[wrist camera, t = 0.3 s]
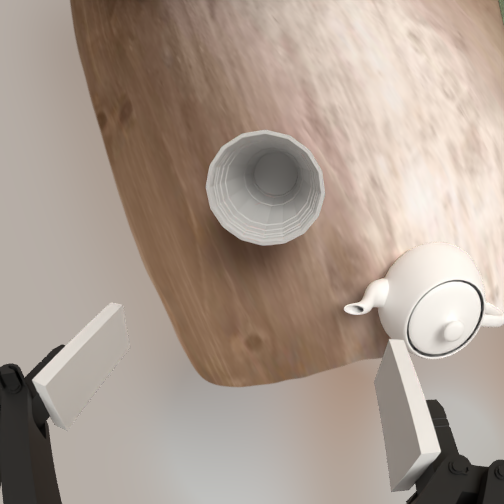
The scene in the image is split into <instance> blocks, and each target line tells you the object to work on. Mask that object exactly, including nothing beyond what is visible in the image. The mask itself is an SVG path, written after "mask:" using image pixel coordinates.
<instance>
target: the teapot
mask: <svg viewBox="0 0 504 504" xmlns="http://www.w3.org/2000/svg"><path fill="white" fill-rule="evenodd" d="M437 285H439V286H437ZM436 286H437V287H436ZM434 287H435V288H434ZM432 288H434V289H432ZM431 289H432V290H431ZM430 290H431V291H430ZM428 291H430V292H428ZM427 292H428V293H427ZM372 307H378V313H379V318H380V322H381V324H382V326H383V328H384V330H385V332H386V333H387V334H388V335H389V337H390V338H391V339H397V340H404V342H405V345H406V347H407V350H408V352H410V353H412V354H415V355H417V356H419V357H421V358H425V359H440V358H445V357H448V356H450V355H453V354H455V353H456V352H458V351H460V350H461V349H463V348H464V347H465V346H466V345H467V344H468V343H469V342H470V341H471V340H472V339H473V338H474V336H475V335H476V334H477V332H478V330H479V329H480V327H481V326H482V327H500V326H502V325H503V324H504V312H503V311H501V310H500V309H499V308H497V307H496V306H494V305H492V304H490V303H488V302H486V299H485V290H484V285H483V281H482V277H481V274H480V272H479V269H478V268H477V266H476V264H475V262H474V260H473V259H472V258H471V257H470V256H469V255H468V254H467V253H466V252H465V251H464V250H462V249H461V248H459V247H458V246H455V245H452V244H449V243H445V242H430V243H425V244H422V245H419V246H416V247H414V248H412V249H410V250H409V251H407V252H405V253H404V254H403V255H402V256H401V257H399V258H398V259H397V260H396V261H395V263H394V264H393V265H392V266H391V267H390V269H389V271H388V272H387V274H386V275H385V277H384V279H379V280H375V281H373V282H372V283H370V284H369V285H368V287H367V288H366V290H365V293H364V295H363V299H362V300H361V301H360V302H357V303H353V304H348V305H346V306H345V307H344V311H345V312H347V313H349V314H353V315H362V314H365V313H368V312H369V311H370V310H371V309H372Z"/></svg>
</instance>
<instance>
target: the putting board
mask: <svg viewBox="0 0 504 504" xmlns="http://www.w3.org/2000/svg"><path fill="white" fill-rule="evenodd" d="M499 4H500V9H501V14H502V18H503V23H504V0H499Z"/></svg>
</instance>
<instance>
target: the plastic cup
mask: <svg viewBox="0 0 504 504" xmlns="http://www.w3.org/2000/svg"><path fill="white" fill-rule="evenodd" d="M206 191H207V195H208V200H209V204H210V209H211V210H212V212H213V213H214V215H215V216H216V218H217V219H218V221H219V222H220V224H221V225H222V227H223V228H225V229H226V230H228V231H229V232H230V233H232V234H233V235H235V236H236V237H238V238H239V239H240V240H243V241H247V242H251V243H254V244H258V245H262V246H265V245H274V244H284V243H286V242H288V241H290V240H292V239H294V238H296V237H298V236H300V235H302V234H304V233H305V232H306V231H307V230H308V228H309V227H310V226H311V225H312V224H313V222H314V221H315V220H316V219H317V218H318V216H319V213H320V210H321V207H322V203H323V200H324V197H325V189H324V181H323V173H322V170H321V168H320V166H319V165H318V163H317V161H316V160H315V158H314V156H313V155H312V153H311V151H310V150H309V149H308V148H306V147H305V146H304V145H302V144H301V143H299V142H298V141H297V140H295V139H294V138H293V137H291V136H290V135H286V134H282V133H278V132H273V131H269V130H261V131H255V132H249V133H243V134H241V135H239V136H237V137H236V138H234V139H233V140H231V141H230V142H228V143H227V144H225V145H224V146H222V147H221V149H220V150H219V152H218V153H217V155H216V156H215V158H214V159H213V161H212V162H211V164H210V166H209V171H208V177H207V183H206Z"/></svg>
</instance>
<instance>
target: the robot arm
mask: <svg viewBox="0 0 504 504" xmlns="http://www.w3.org/2000/svg"><path fill="white" fill-rule="evenodd" d="M129 348H130V342H129V337H128V331H127V326H126V320H125V314H124V308H123V305H122V304H117V303H112V302H111V303H110V304H109V305H107V306H106V307H105V308H104V309H103V310H102V311H101V312H100V313H99V314H98V315H97V316H96V317H95V318H94V319H93V320H92V321H91V322H90V323H89V324H87V325H86V326H85V327H84V328H83V329H82V330H81V331H80V332H79V333H78V334H77V335H76V336H75V337H74V338H73V339H72V340H71V341H70V342H69V343H68V344H67V345H66V346H65V345H60V346H58V347H57V348H55V349H53V350H52V351H51V352H50V353H49V354H48V355H47V357H45V358H44V359H43V360H42V362H40V363H39V364H38V365H37V366H36V367H35V368H34V369H33V370H32V371H31V372H30V373H29V374H28V375H27V376H26V377H25V378H24V376H23V374H22V371H21V369H20V367H18V365H15V364H6V365H3V366H2V367H0V486H1V483H2V494H3V503H4V504H62V502H61V498H60V493H59V489H58V484H57V480H56V474H55V469H54V463H53V457H52V450H51V444H50V435H49V427H48V423H47V421H46V420H47V419H48V418H49V417H51V419H52V421H53V423H54V425H56V426H58V427H60V428H62V429H64V430H66V431H68V429H69V428H70V427H71V425H72V424H73V423H74V421H75V420H76V418H77V417H78V416H79V414H80V413H81V412H82V410H83V409H84V408H85V406H86V405H87V404H88V402H89V401H90V400H91V398H92V397H93V396H94V394H95V393H96V392H97V390H98V389H99V388H100V386H101V385H102V384H103V382H104V381H105V380H106V378H107V377H108V376H109V374H110V373H111V372H112V371H113V369H114V368H115V367H116V365H117V364H118V363H119V361H120V360H121V359H122V357H123V356H124V355H125V354H126V352H127V351H128V350H129ZM374 384H375V389H376V394H377V400H378V405H379V411H380V416H381V422H382V428H383V434H384V440H385V447H386V454H387V462H388V469H389V478H390V486H391V492H395V491H405V490H409V489H410V488H411V487H412V486H413V485H414V484H416V490H417V491H416V492H415V493H414V494H413V495H412V496H411V497H410V498H409V500H407V501H406V502H407V504H504V460H496V461H494V462H493V463H492V464H491V465H490V466H489V467H482V466H475V465H471V463H470V462H469V460H468V459H467V458H466V457H464V456H462V455H459V453H458V450H457V447H456V444H455V441H454V438H453V434H452V432H451V428H450V427H449V423H448V420H447V419H446V414H445V411H444V408H443V407H442V406H441V405H440V403H439V402H438V401H437V400H425V397H424V395H423V391H422V389H421V386H420V383H419V380H418V377H417V374H416V372H415V369H414V366H413V363H412V361H411V358H410V355H409V353H408V350H407V347H406V345H405V342H404V340H397V339H389V341H388V344H387V347H386V350H385V353H384V356H383V358H382V361H381V364H380V367H379V370H378V373H377V375H376V378H375V381H374Z"/></svg>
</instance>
